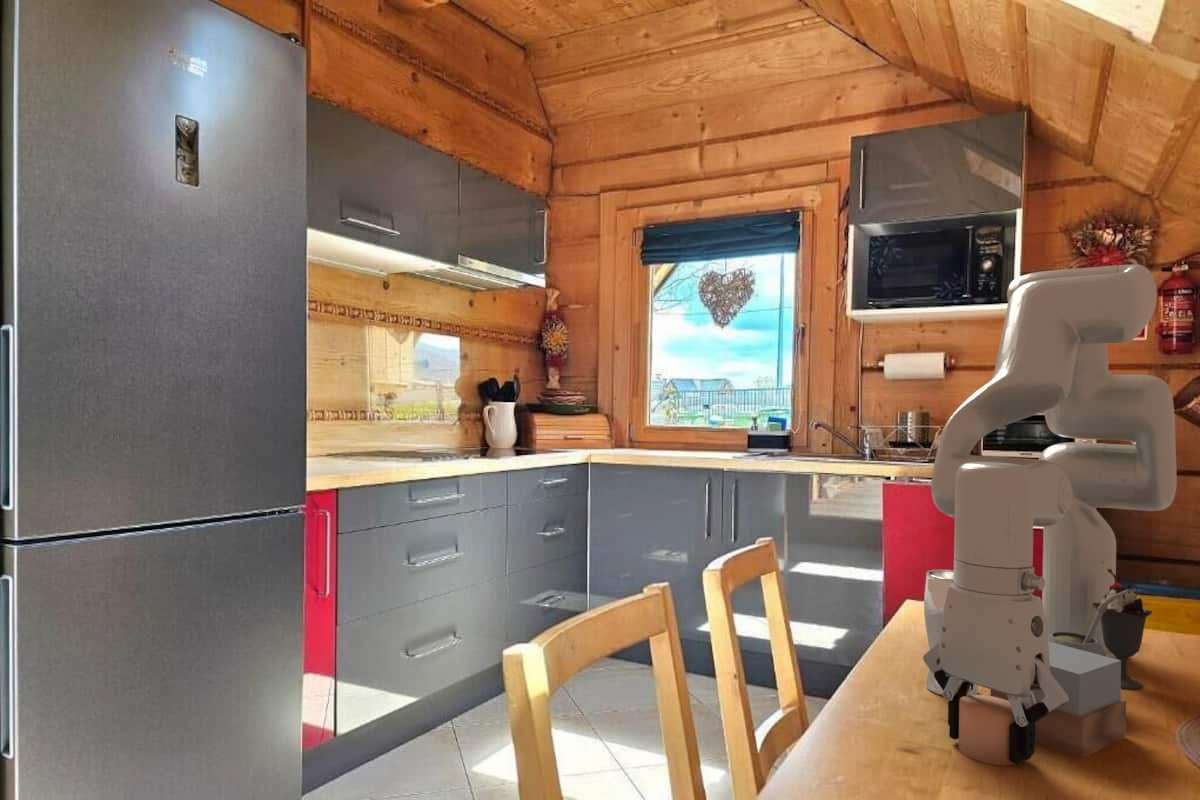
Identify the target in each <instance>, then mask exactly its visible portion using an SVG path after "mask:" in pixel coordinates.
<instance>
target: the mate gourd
mask: <svg viewBox="0 0 1200 800" xmlns="http://www.w3.org/2000/svg"><path fill="white" fill-rule="evenodd" d="M1127 592H1128V590H1125V591H1123V592H1120V593H1118V594H1115V595H1113V596H1111V597H1109V598H1108V599H1107V600H1105V601H1104V602H1103V603H1101V604H1100V606H1099V608H1098V612H1097V615H1096V617H1095V619H1094V621H1093V623H1092V625H1091V628H1090V630H1089V632H1088V634H1087V636H1086V635H1083V634H1078V633H1071V632H1054V633H1052V634H1050V635H1049V636H1048V641H1049V642H1052V643H1056V644H1060V645H1064V646H1068V647H1071V648H1075V649H1079V650H1083V651H1087V652H1091V653H1094V654H1098V655H1102V656H1105V651H1104V650H1103V648H1102V647H1101V645H1100V644H1099V642H1098V641H1097V640H1096V639H1094V638H1092V636H1093V634H1094V632H1095V630H1096V628H1097V625H1098V623H1099V621H1100V619H1101V617H1102V615H1103V613H1105V611H1106V609H1107V608H1108V605H1109V604H1110V603H1111V602H1112V601H1114V600H1115V599H1117V598H1119V597H1120V596H1122V595H1124V594H1125V593H1127Z"/></svg>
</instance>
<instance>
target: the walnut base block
mask: <svg viewBox="0 0 1200 800" xmlns="http://www.w3.org/2000/svg"><path fill="white" fill-rule="evenodd" d="M989 696H992V697H997V698H1001V699H1004V700H1007V701H1009V699H1008V696H1007V694H1004V693H1001V692H998V691H994V690H991V689H990V695H989ZM1126 731H1127V699H1123V698H1120V701H1118V702H1115V703H1113V704H1110V705H1108V706H1105V707H1103V708H1100V709H1098V710H1095V711H1092V712H1090V713H1087V714H1085V715H1082V716H1080V717H1078V716H1075V715H1072V714H1069V713H1066V712H1063V711H1060V710H1057V709H1055V710H1054V711H1052V712H1051V713H1049V714H1048V715H1046V716H1045V717H1043V718H1042V719H1040V720H1039V721H1037V722H1035V743H1037V744H1041V745H1044V746H1046V747H1050V748H1052V749H1055V750H1057V751H1060V752H1062V753H1065V754H1068V755H1070V756H1073V757H1077V758H1079V759H1084V758H1085V757H1086V758H1087V757H1088V756H1091V755H1092V754H1095V753H1096V752H1098V751H1101V750H1102V749H1104V748H1107V747H1109V746H1111V745H1113V744H1115V743H1117V742H1119V741H1121V740H1124V739H1126V737H1127V736H1126V735H1127V732H1126Z"/></svg>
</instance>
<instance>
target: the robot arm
mask: <svg viewBox="0 0 1200 800" xmlns="http://www.w3.org/2000/svg"><path fill="white" fill-rule="evenodd" d="M1157 295H1158V292H1157V284H1156V281H1155V278H1154V276H1153V273H1152V271H1150V270H1149V269H1148V268H1147V267H1146V266H1144V265H1142V264H1133V263H1132V264H1117V265H1105V266H1104V265H1103V266H1094V267H1083V268H1082V267H1080V268H1079V267H1077V268H1063V269H1054V270H1053V269H1052V270H1045V271H1044V270H1043V271H1036V272H1032V273H1031V272H1030V273H1027V274H1023V275H1020V276H1018V277H1015V278H1014V279H1013V280H1012V281H1011V282H1010V283H1009V285H1008V287H1007V292H1006V296H1007V297H1006V298H1007V307H1006V313H1005V317H1004V321H1003V325H1002V326H1003V327H1002V333H1001V337H1000V342H999V345H998V351H997V357H996V360H995V361H996V362H995V367H994V372H993V373H994V374H993V377H992V379H990V381H988V382H987V383H986V384H985V385H983V386H981V387H980V388H979V389H977V390H976V391H975V392H973V393H972V394H971V395H970V396H969V397H967V398H966V399H965V400H964V401H963V402H962V403H961V405H959V407H958V408H957V409H956V410H955V411H954V412H953V413H952V414H951V416H950V417H949V419H948V420H947V421H946V422H945V425H944V426H943V428H942V429H943V430H942V432H941V434H940V437H939V441H938V446H937V450H936V454H935V459H934V464H933V469H932V473H931V474H932V475H931V484H930V485H931V487H930V488H931V490H930V491H931V497H932V499H933V503H934V506H935V507H936V508H937V509H938V510H939V511H940V512H941V513H942V514H944V515H946V516H949V517H951V518H954V532H953V533H954V537H953V539H954V540H953V551H954V553H953V570H954V584H951V585H949V588H948V591H947V594H946V599H945V603H944V608H943V614H942V621H941V631H940V642H939V643H938V644H937V645H936V646H934V647H933V648H932V649H931V650H930V649H929V650H928V651H927V652H926V653H925V654H923V656H922V660H923V661H924V663H925V664H926V666H927V668H928V670H929V669H930V670H931V672H932V673H934V677H935V679H936V681H937V682H938V684H939V685H940V687H941V688H942V690H943V696H942V697H943V698H944V699H945V700H946V701H947V703H948V705H947V709H948V710H947V725H948V727H949V732H948V733H949V734H948V735H949V738H950V739H952V740H959V700H960V698H961V697H963V696H967V693H968V691H969V688H970V686H971V684H972V683H973V684H976V685H977V686H979V687H983V688H985V689H988V690H990V691H991V690H994V691H998V692H1001V693H1004V694H1007V696H1008V699H1009V702H1010V706H1011V709H1012V712H1013V715H1014V718H1015V722H1014V723H1011V724H1010V729H1009V760H1010V761H1011V762H1012V763H1015V764H1014V765H1019V764H1020V763H1022V762H1026V761H1027V760H1030V759H1031V758H1032V756H1033V755H1034V753H1035V750H1036V742H1035V722H1037V721H1039V720H1040V719H1042V718H1043V717H1045V716H1046V715H1048V714H1049V713H1051V712H1052V711H1054V710H1055V709H1057V708H1059V707H1060V706H1062V705H1064V704H1065V703H1067V702H1068V701H1069V697H1068V695H1067V694H1066V693H1065V691H1064V690H1063V689H1062V687H1061V686H1060V685H1059V683H1058V682H1057V681H1056V679H1055V678H1054V677H1053V676H1052V674H1051V673H1050V658H1049V644H1048V636H1049V635H1050V634H1052V633H1054V632H1071V633H1078V634H1083V635H1086V636H1087V634H1088V632H1089V630H1090V628H1091V625H1092V623H1093V621H1094V619H1095V617H1096V615H1097V612H1098V610H1097V609H1096V608H1095V607H1093V605H1092V604H1093V603H1101V602H1102V599H1103V597H1104V596H1105V595H1106V594H1107V593H1108V592H1109V591H1110V589H1109V587H1110V586H1111V585H1113V584H1114V583H1115V579H1114V577H1113V575H1112V574H1111V573H1109V572H1108V571H1107V569H1112V572H1113V573H1114V574H1115V576H1116V577H1117V575H1116V573H1117V569H1116V568H1117V539H1116V536H1115V532H1114V530H1113V529H1112V527H1111V526H1110V524H1109V523H1108V522H1107V520H1106V519H1104V518H1103V516H1102V515H1101V514H1100V512H1099V511H1098V510H1097V509H1099V508H1102V509H1103V508H1104V509H1105V508H1106V509H1108V508H1109V509H1121V510H1129V511H1130V510H1131V511H1132V510H1133V511H1146V512H1147V511H1148V512H1155V511H1156V512H1157V511H1163V510H1165V509H1168V507H1170V506H1171V505H1172V503H1173V501H1174V499H1175V496H1176V492H1177V483H1178V482H1177V481H1178V480H1177V479H1178V478H1177V452H1176V449H1177V447H1176V445H1177V444H1176V421H1175V419H1176V417H1175V407H1174V399H1173V394H1172V391H1171V389H1170V387H1169V385H1168V384H1167V382H1166V381H1165V380H1163V379H1162V378H1160V377H1158V376H1155V375H1149V374H1113V373H1111V372H1110V369H1109V357H1108V356H1109V355H1108V354H1109V353H1108V344H1121V343H1122V344H1123V343H1128V342H1131V341H1133V340H1135V339H1136V338H1137V337H1138V336H1139V335H1140V334H1141V333H1142V332H1143V330H1144V328H1145V327H1146V326H1147V325H1148V323H1149V322H1150V321H1151V319H1152V317H1153V315H1154V312H1155V309H1156V306H1157V299H1158V298H1157ZM1041 413H1044V419H1045V423H1046V425H1047V427H1048V429H1049V430H1050V432H1051V433H1053V434H1054V435H1056V436H1059V437H1062V438H1067V439H1068V438H1069V439H1079V440H1099V441H1100V440H1101V441H1103V440H1104V441H1123V442H1125V441H1127V442H1130V443H1132V444H1118V443H1117V444H1114V443H1107V442H1106V443H1105V442H1104V443H1103V442H1101V443H1100V442H1099V443H1098V442H1082V441H1081V442H1079V441H1078V442H1077V441H1076V442H1074V441H1072V442H1070V441H1069V442H1061V443H1060V442H1059V443H1056V444H1055V443H1054V444H1053V445H1050V446H1048V447H1047V448H1045V449H1044V450H1042V452H1041V453H1040V455H1039V457H1038V459H1036V458H1034V459H1033V458H1019V457H1007V456H991V455H973V454H972V455H970V453H971V451H972V450H973V448H974V446H976V444H977V443H978V442H979V441H981V439H983V438H984V437H985V436H987V435H988V434H990V433H992V432H993V431H996V430H997V429H1000V428H1003V427H1005V426H1008V425H1010V424H1012V423H1015V422H1018V421H1021V420H1024V419H1027V418H1030V417H1032V416H1035V415H1038V414H1041ZM1034 527H1036V528H1037V527H1038V528H1042V529H1043V531H1042V532H1043V533H1042V535H1043V536H1042V537H1043V538H1042V539H1043V541H1042V576H1037V574H1035V567H1034V566H1033V563H1034V562H1033V561H1034V559H1033V558H1034ZM1036 590H1038V591H1042V593H1041V594H1042V595H1041V596H1037V595H1034V594H1033V593H1034V591H1036ZM1041 597H1042V598H1041ZM1092 638H1094V639H1096V640H1097V641H1098V642H1099V644H1100V645H1101V647H1102V648H1103V650H1104V651H1105V656H1106V657H1110V658H1113V659H1117V658H1116V657H1115V655H1114V654H1112V653H1111V652H1110V651H1109V650H1108V649H1107V647H1106V646H1105V644H1104V639H1103V634H1102V626H1101V619H1100V621H1099V623H1098V625H1097V628H1096V630H1095V632H1094V634H1093V636H1092ZM1032 690H1038V691H1041V690H1043V691H1044V693H1045V698H1044V699H1042V700H1041V701H1040V702H1038V703H1037V702H1036V699H1035V697H1034V694H1033V691H1032Z"/></svg>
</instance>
